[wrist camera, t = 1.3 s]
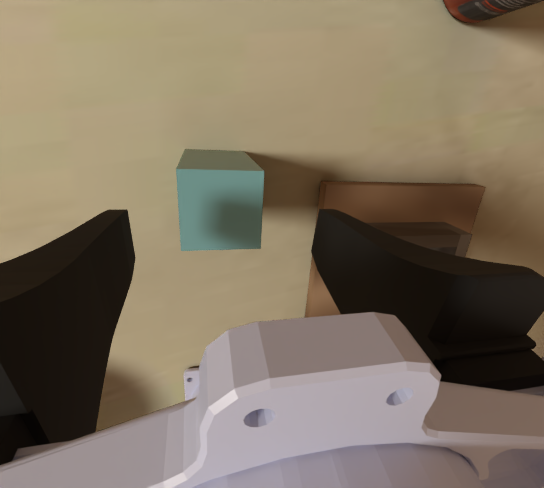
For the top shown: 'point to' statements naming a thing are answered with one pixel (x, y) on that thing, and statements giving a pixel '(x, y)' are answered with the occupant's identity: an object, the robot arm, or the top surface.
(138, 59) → the top surface
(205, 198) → the block
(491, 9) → the supplement bottle
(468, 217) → the end holder
